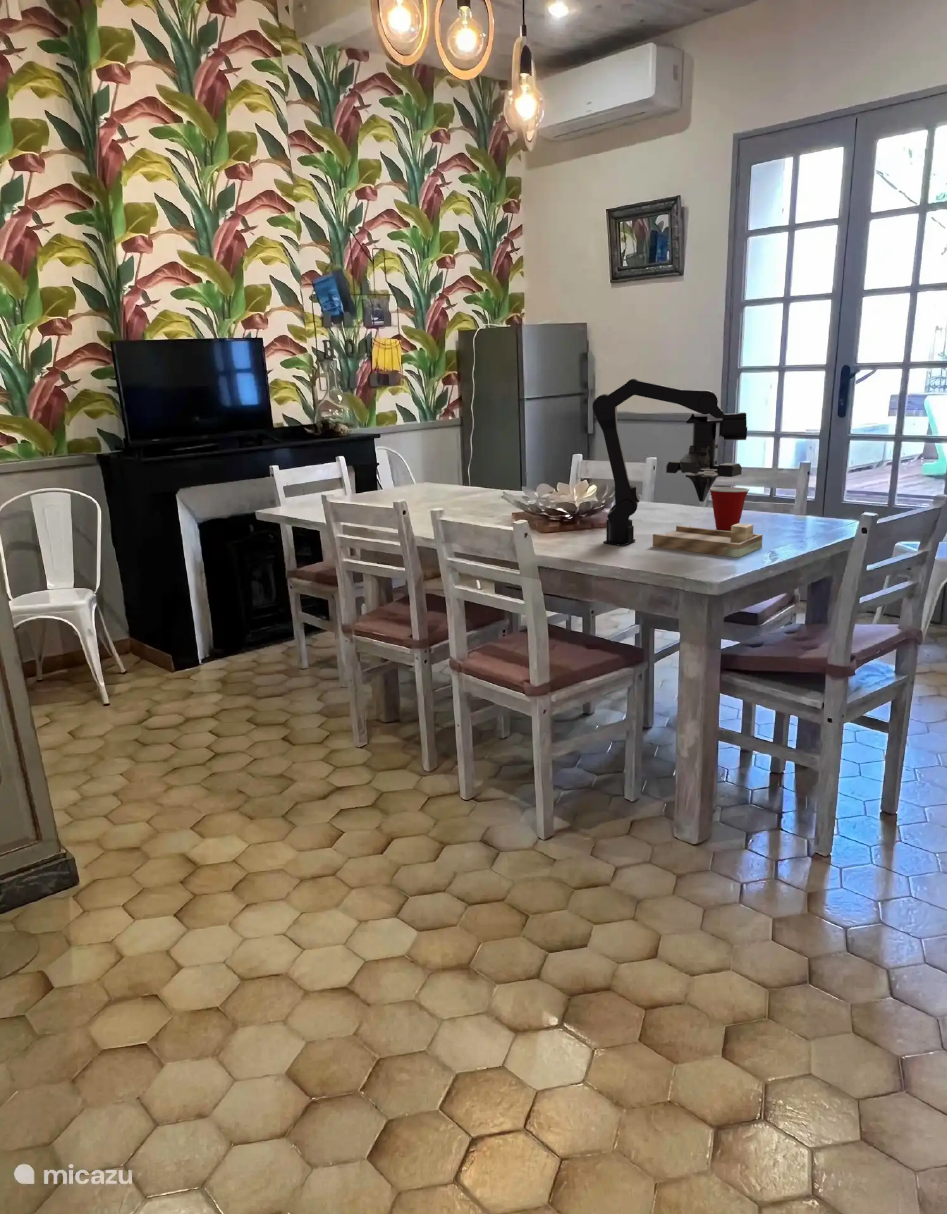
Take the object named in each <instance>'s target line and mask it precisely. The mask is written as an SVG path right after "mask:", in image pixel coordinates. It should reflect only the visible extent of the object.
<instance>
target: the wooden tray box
mask: <svg viewBox="0 0 947 1214" xmlns="http://www.w3.org/2000/svg"><path fill="white" fill-rule="evenodd" d="M675 528H676V529H675V530H674V531H672V532H668V533H665V534H657V533H653V534H652V547H655V548H663V549H670V550H671V549H672V550H680V551H687V552H694V553H701V554H711V555H718V556H726V557H733V558H734V557H735V558H741V557H743V556H745V555H748V554H750V553H751V552H754V551H757V550H758V549H759V550H760V549H761V548H763V534H758V533H753V537H752V538H750V539H748V540H745V541H743V542H740V543H739V542H731V531H723V530H717V529H712V528H711V529H710V528H704V527H702V528H701V527H693V526H683V525H676V527H675Z"/></svg>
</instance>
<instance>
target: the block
mask: <svg viewBox="0 0 947 1214" xmlns="http://www.w3.org/2000/svg"><path fill="white" fill-rule="evenodd" d="M753 534H754V524H750V523H749V524H748V523H740V522H739V523H738V524H735V525H733V526H731V542H739V543H740V542H743V541H745V540H748V539H750V538H752V537H753Z"/></svg>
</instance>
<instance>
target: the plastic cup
mask: <svg viewBox="0 0 947 1214" xmlns="http://www.w3.org/2000/svg"><path fill="white" fill-rule="evenodd" d="M749 491H750V488H745V487H735V486H728V487H727V486H715V487H712V486H711V488H710V490H709V492H710V497H711V501H712V508H713V509H712V510H713V518H714V522H715V528H716V529H715V530H723V531H731V526H733V525H735V524H738V523H740V522H741V517H742V514H743V508H744V507H745V506H744V504H745V501H746V498H747V494H748V492H749Z"/></svg>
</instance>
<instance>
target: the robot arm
mask: <svg viewBox="0 0 947 1214" xmlns="http://www.w3.org/2000/svg"><path fill="white" fill-rule="evenodd" d="M633 396H638V397H643V398H647V399H653V400H657V401H661V402H667V403H670V404H671V403H672V404H675V405H680V406H682V407H684V408H686V409H688V410H691V411H693V412H692V413H691V414H690V416H689V417H688V418H686V420H685V424H692V445H689V449H688V453H686V454H685V455H684V456H683V457H681V458H680V459H676V460H672V461H668V462H667V464H666V465H665V473H666V474H678V472H679V471H680V473H682V474H685V475H684V476H685V477H686V478H688V479H689V480H690V481H691V483H692V485H693V486H694V488H695V491H696V492H695V493H696V495H697V498H698V500H699V502H702V503H704V502H705V501H706V498H707V496H708V494H709V492H710V488H712V486H713V484H714V483H715V481H716V479H717V478H719V477H720V478H721V477H725V478H733V477H736V476H737V477H738V476H740V475H742V472H743V471H742V470H743V468H742V466H741V464H740V463H738V462H735V463H734V462H726V463H721V464H719V465H718V460H717V459H716V449H718V448H719V444H718V443H717V442H716V441H717V424H718V438H719V437H721V438H722V441H747V436H748V426H747V412H738V413H737V412H736V413H724V410H723V409H721V408H720V407H719V406H718V402H719V401H718V397H717V395H716V394H715V393H714V392H713V391H711V390H709V389H684V388H683V389H681V388H677V387H671V386H667V385H662V384H657V383H653V382H652V383H651V382H648V381H642V380H639V379H638V378H631V379H629V380H628V381H627V382H626V383H624V384H623V385H622V386H620V387H619V388H617V389H615V390H614V391H612V392H611V393H602V394H601V395H600V394H599V395H598V396H597V397H596V398H595V399H594V401H593V403H592V411H593V414H594V416H595V418H596V421H597V423H598V425H599V427H600V429H601V431H602V434H603V437H604V442H605V446H606V451H607V454H608V459H609V463H610V469H611V473H612V477H613V481H614V505H613V506H611V508H609V511H608V513H607V516H606V517H607V519H606V532H605V533H606V539H605V540H603V541H602V543H603V544H607V545H615V546H627V545H628V544H631V543H634V542H636V539H634V532H635V531H634V530H635V529H634V525H633V519H630V517H631V516H633V515H634V514H635V513H636V511H637V509H638V504H639V503H640V500H641V497H640V495H639V492H638V484H637V483H635V484H633V485H632V482H631V481H630V478H629V475H628V470H627V465H626V460H625V457H624V451H623V447H622V443H621V439H620V434H619V430H618V406H619V405H621V404H623V403H624V402H626V401H627V400H629V399H630V398H632V397H633ZM694 412H696V413H697V414H700V415H701V416H699V415H698V416H696V415H695V414H694ZM707 415H710V416H711V417H713V418H715V419H708V416H707Z"/></svg>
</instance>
